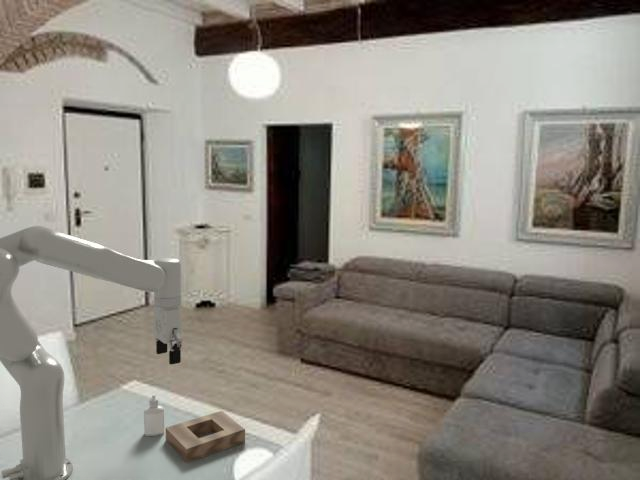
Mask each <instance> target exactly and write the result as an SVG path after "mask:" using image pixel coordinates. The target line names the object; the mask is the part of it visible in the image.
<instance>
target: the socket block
mask: <svg viewBox="0 0 640 480" xmlns="http://www.w3.org/2000/svg"><path fill="white" fill-rule="evenodd" d="M209 433H212V434H209ZM207 434H208V435H207ZM203 435H205V436H203ZM199 436H203V437H199ZM165 441H166V443H167V444H168V445H169V446H170V447H171V448H172V449H173V450H174V451H175V452H176V453H177V455H178V456H179V457H180V458H181V459H182V460H184V462H185V463H186V464H188V463H190V462H193V461H196V460H199V459H201V458H205V457H208V456H210V455H213V454H216V453H218V452H221V451H223V450H227V449H229V448H232V447H235V446H237V445H240V444H243V443H246V428H245V427H243V426H242V425H241V424H239V423H238V422H237V421H235V420H234V419H233V418H231V417H230V416H229V415H228V414H227V413H225V412H224V411H223V410H219V411H216V412H213V413H209V414H207V415H203V416H200V417H196V418H194V419H190V420H187V421H183V422H181V423H177V424H174V425H171V426H167V427H165Z"/></svg>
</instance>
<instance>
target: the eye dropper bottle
mask: <svg viewBox="0 0 640 480" xmlns="http://www.w3.org/2000/svg"><path fill="white" fill-rule="evenodd" d="M143 414H144V415H143V425H144V427H143V429H144V432H143V433H144V436H145V437H156V436H161V435H163V434H164V433H165V409H164V407H163V406H162V405H159V399H158V397H156V395H155V393H154V394H152V395H151V398H150V399H149V406H147V407H145V408H144V410H143Z"/></svg>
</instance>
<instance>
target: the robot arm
mask: <svg viewBox="0 0 640 480" xmlns="http://www.w3.org/2000/svg"><path fill="white" fill-rule="evenodd" d="M34 261H35V262H37V263H40V264H43V265H47V266H51V267H54V268H58V269H63V270H66V271H69V272H73V273H76V274H79V275H84V276H85V277H90V278H94V279H96V280H101V281H106V282H110V283H114V284H117V285H120V286H124V287H128V288H131V289H135V290H138V291H142V292H145V293H153V307H154V310H153V330H152V332H153V337H155V340H156V341H155V344H156V346H155V350H156V351H155V352H156V355H162V354H166V353H168V359H169V360H168V364H169V365H176V364H180V363H181V359H182V358H181V352H182V351H181V350H182V343H183V337H182V321H181V318H182V317H181V311H180V308H181V307H182V264H181V261H180V260H179V259H177V258H174V257H172V258H171V257H167V258H166V257H165V258H158V259H148V260H147V259H138V258H134V257H131V256H129V255H127V254H126V255H125V254H123V253H120V252H118V251H116V250H114V249H112V248H109V247H107V246H104V245H102V244H99V243H95V242H92V241H89V240H86V239H83V238H79V237H77V236H73V235H70V234H67V233H64V232H61V231H57V230H55V229H52V228H50V227H49V228H48V227H45V226H41V225H35V226H34V225H33V226H29V227H26V228H23V229H20V230H18V231H16V232H13V233H10V234H8V235H5V236H3V237H0V363H1V364H2V365H3V367H4V368H5V369H6V371H7V372H8V373H9V375H10V376H11V378H13V379H14V381H15V382H16V383H17V384H18V386H19V389H20V399H19V400H20V401H19V418H20V419H19V421H20V432H21V447H22V448H21V449H22V459H20V460H19V464H16V465H15V466H14V467H12V468H11V467H10V468H7V469H3V470H1V473H0V474H1V478H2V480H3V479H7V478H8V479H9V480H66V479H67V478H68V477H70V475H71V474H72V472H73V468H74V465H73V463H72V461H71V460H69V459H68V458H66V457H67V456H66V439H65V438H66V436H65V420H64V419H65V418H64V417H65V416H64V388H65V373H64V369H63V367H62V365H61V363H60V362H59V361H58V360H57V359H56V358H55V357H54V356H53V355H52V354H50V353H49V352H48V351H47V350H46V349H45V348H44V347H43V346H42V344H41V343H40V341H39V339H38V338H39V337H38V333H37V332H36V329H35V328H34V326H33V325H32V323H30V322H29V321H28V320H27V318H26V317H25V316H24V314H23V312H22V311H21V310H20V308H19V307H18V305H17V303H16V302H15V300H14V298H13V296H12V287H13V285H14V282H15V281H16V280H17V277H18V275H19V273H20V268H21V267H22V266H24V265H27V264H29V263H32V262H34ZM168 346H169V349H170V350H169V351H168Z"/></svg>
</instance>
